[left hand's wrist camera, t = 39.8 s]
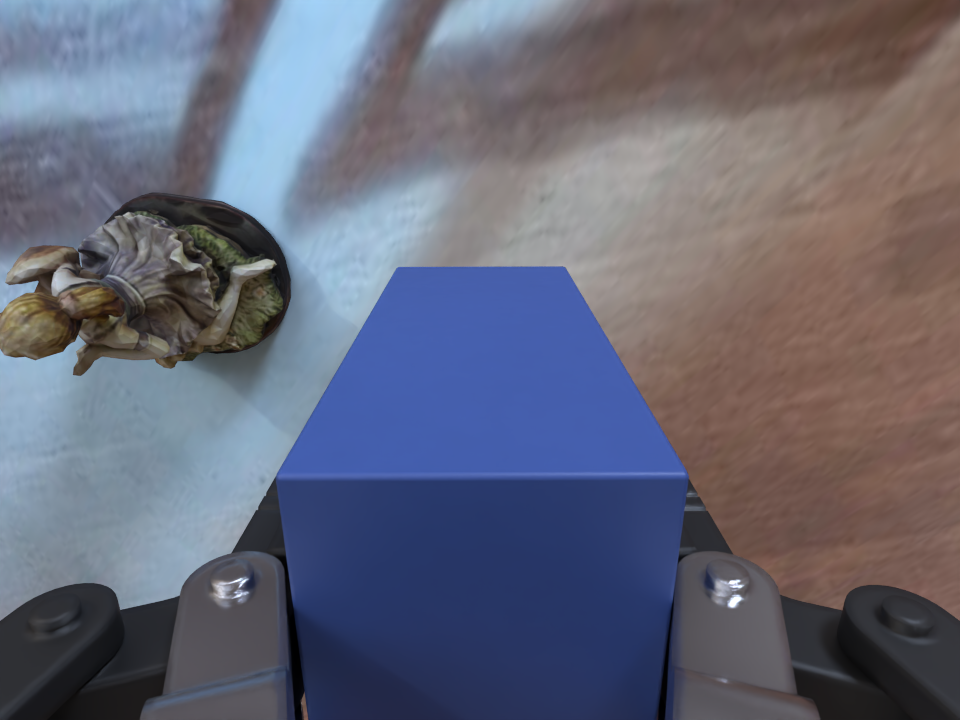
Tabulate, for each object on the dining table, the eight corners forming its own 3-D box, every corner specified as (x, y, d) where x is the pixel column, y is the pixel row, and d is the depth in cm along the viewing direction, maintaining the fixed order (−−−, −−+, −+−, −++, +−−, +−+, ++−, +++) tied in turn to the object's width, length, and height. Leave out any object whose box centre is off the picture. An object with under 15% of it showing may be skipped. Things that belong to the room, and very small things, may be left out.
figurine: (75, 297, 40) (-143, 389, 26) (140, 147, 37) (-67, 162, 23) (242, 389, 42) (125, 520, 28) (317, 257, 39) (228, 330, 25)
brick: (565, 265, 17) (691, 474, 7) (557, 451, 19) (645, 824, 9) (396, 266, 17) (273, 475, 7) (405, 452, 19) (320, 824, 9)
